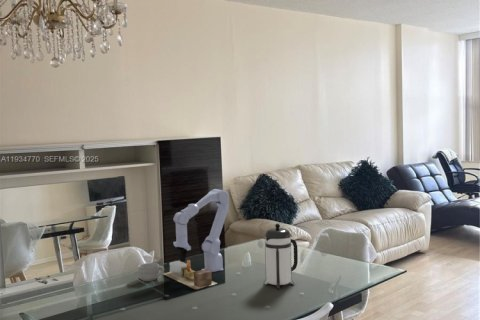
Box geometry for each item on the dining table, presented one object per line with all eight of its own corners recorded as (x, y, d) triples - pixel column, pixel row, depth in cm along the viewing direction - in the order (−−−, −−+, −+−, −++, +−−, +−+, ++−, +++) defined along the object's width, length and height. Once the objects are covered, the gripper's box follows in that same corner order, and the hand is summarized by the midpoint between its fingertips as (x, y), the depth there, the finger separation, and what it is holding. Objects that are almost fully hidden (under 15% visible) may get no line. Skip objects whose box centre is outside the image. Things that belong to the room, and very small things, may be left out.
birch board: (183, 269, 263) (183, 268, 263) (218, 284, 236) (217, 283, 236) (162, 274, 255) (162, 273, 255) (195, 290, 229) (195, 289, 229)
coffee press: (295, 290, 225) (293, 227, 223) (261, 289, 228) (259, 226, 226) (298, 278, 242) (297, 219, 240) (266, 277, 245) (265, 219, 243)
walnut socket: (206, 281, 239) (205, 269, 239) (211, 284, 235) (211, 271, 235) (194, 285, 235) (193, 271, 235) (199, 287, 231) (199, 274, 231)
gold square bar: (177, 269, 258) (176, 254, 257) (196, 277, 243) (195, 261, 242) (172, 270, 256) (171, 255, 256) (191, 278, 241) (190, 262, 240)
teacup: (134, 281, 245) (133, 266, 244) (147, 275, 254) (147, 260, 254) (156, 285, 238) (155, 269, 238) (169, 278, 248) (168, 263, 247)
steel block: (179, 270, 259) (178, 260, 259) (190, 275, 250) (190, 265, 249) (169, 272, 256) (169, 262, 255) (181, 278, 246) (180, 267, 246)
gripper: (168, 234, 252) (168, 260, 253) (182, 239, 241) (182, 265, 242) (179, 232, 256) (180, 257, 257) (194, 237, 245) (194, 263, 246)
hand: (182, 261), depth 250 cm, fingers closed
